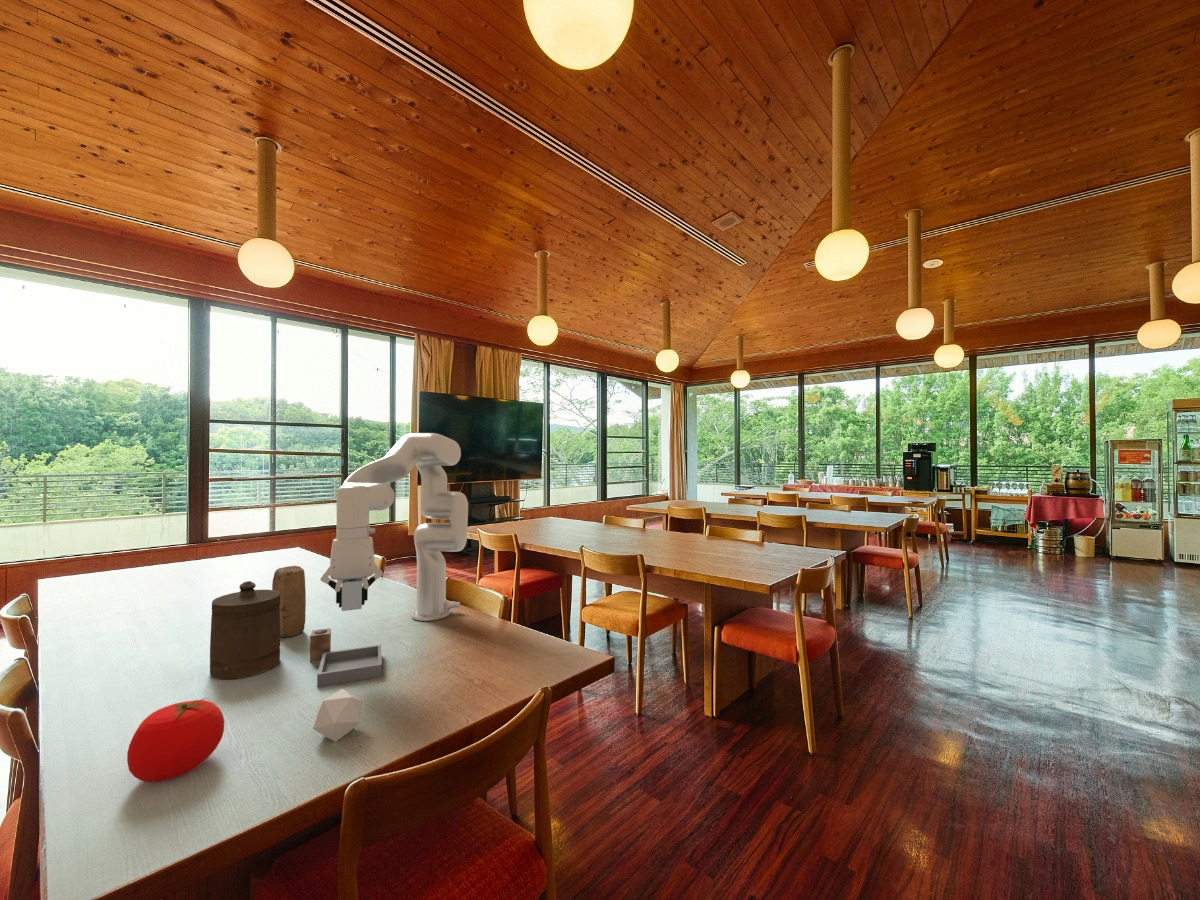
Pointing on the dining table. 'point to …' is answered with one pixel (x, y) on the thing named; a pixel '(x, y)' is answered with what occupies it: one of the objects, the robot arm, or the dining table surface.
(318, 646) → the walnut block
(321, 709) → the die
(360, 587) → the grey rectangular block
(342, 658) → the tray
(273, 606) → the wooden container
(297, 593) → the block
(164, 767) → the tomato
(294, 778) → the dining table surface
